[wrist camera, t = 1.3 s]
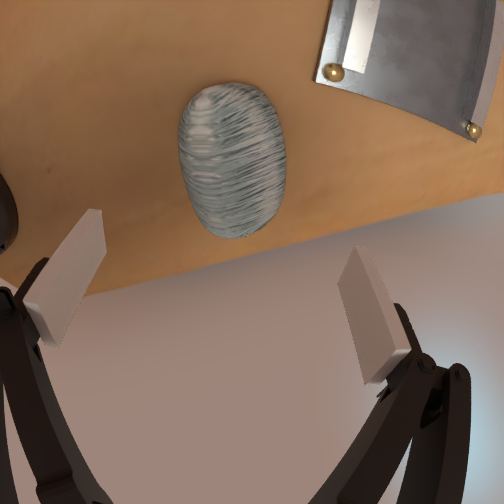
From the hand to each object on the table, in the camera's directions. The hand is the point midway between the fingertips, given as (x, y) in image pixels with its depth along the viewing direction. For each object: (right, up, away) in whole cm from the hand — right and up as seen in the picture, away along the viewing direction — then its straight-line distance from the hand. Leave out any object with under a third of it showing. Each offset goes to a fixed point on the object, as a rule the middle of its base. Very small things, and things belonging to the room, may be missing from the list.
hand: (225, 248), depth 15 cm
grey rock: (0, +10, +13) cm, 17 cm away
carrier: (+18, +22, +4) cm, 29 cm away
